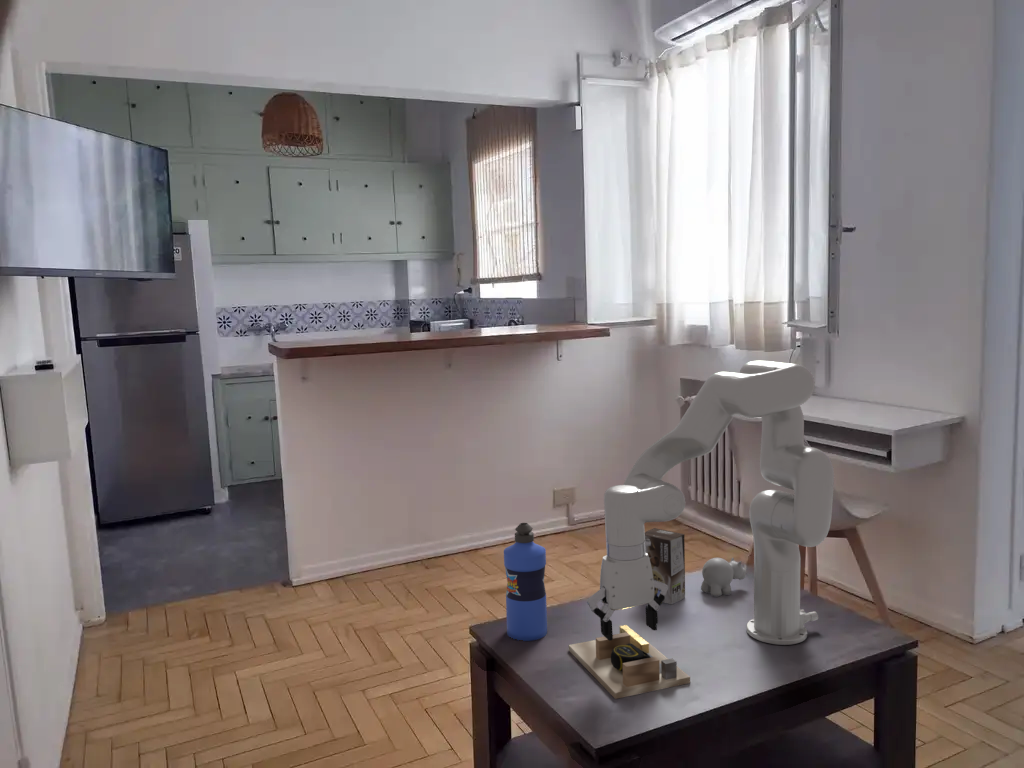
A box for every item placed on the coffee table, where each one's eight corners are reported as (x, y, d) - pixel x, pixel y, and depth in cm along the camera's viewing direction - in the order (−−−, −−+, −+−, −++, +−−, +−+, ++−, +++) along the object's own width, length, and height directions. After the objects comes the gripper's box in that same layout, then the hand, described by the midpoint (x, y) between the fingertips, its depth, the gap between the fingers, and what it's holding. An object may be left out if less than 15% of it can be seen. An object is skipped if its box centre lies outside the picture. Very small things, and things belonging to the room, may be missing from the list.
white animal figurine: (756, 592, 198) (756, 557, 197) (713, 600, 194) (713, 565, 193) (737, 582, 205) (737, 549, 204) (696, 590, 201) (695, 556, 200)
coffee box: (686, 597, 196) (686, 533, 194) (671, 605, 192) (671, 540, 190) (655, 588, 203) (654, 526, 201) (640, 596, 198) (639, 533, 196)
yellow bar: (626, 633, 173) (626, 624, 172) (648, 652, 163) (648, 643, 163) (619, 634, 172) (619, 626, 172) (641, 654, 163) (641, 644, 162)
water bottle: (535, 620, 185) (532, 515, 183) (555, 635, 177) (552, 525, 174) (499, 629, 181) (495, 522, 178) (518, 644, 173) (514, 532, 170)
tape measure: (653, 671, 157) (652, 653, 156) (623, 679, 154) (623, 661, 153) (633, 657, 163) (632, 640, 162) (604, 665, 160) (604, 647, 159)
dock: (636, 637, 175) (635, 614, 174) (690, 682, 154) (690, 657, 153) (568, 650, 170) (568, 626, 169) (615, 699, 149) (614, 672, 148)
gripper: (655, 536, 162) (659, 617, 164) (577, 551, 156) (582, 634, 159) (674, 547, 155) (678, 631, 157) (593, 563, 149) (598, 649, 152)
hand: (629, 632), depth 158 cm, fingers open, 9 cm apart
